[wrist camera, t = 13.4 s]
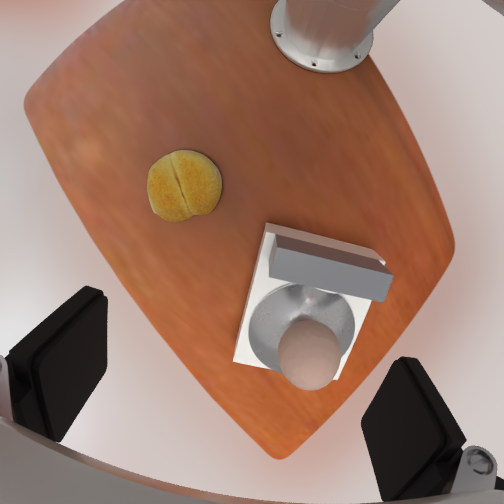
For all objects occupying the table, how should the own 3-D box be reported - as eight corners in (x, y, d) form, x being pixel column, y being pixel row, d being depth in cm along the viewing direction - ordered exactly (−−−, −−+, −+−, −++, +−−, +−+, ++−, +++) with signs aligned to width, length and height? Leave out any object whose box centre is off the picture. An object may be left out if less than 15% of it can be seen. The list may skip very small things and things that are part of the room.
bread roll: (230, 206, 39) (227, 212, 35) (162, 225, 40) (152, 232, 36) (212, 140, 36) (206, 138, 33) (144, 162, 37) (131, 164, 34)
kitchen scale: (266, 222, 39) (266, 244, 29) (372, 249, 39) (402, 277, 30) (236, 340, 44) (228, 386, 34) (331, 358, 44) (343, 404, 35)
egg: (298, 297, 35) (307, 341, 26) (344, 323, 36) (363, 370, 27) (265, 340, 37) (265, 391, 28) (310, 363, 38) (320, 414, 29)
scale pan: (263, 269, 35) (263, 272, 34) (368, 293, 36) (370, 296, 35) (238, 361, 39) (238, 365, 38) (332, 378, 39) (333, 381, 38)
